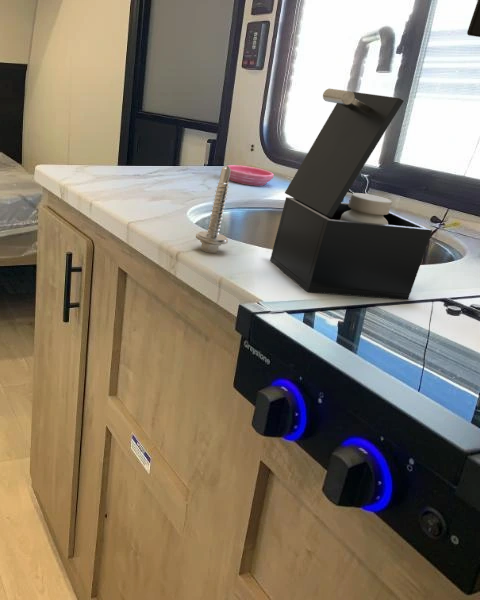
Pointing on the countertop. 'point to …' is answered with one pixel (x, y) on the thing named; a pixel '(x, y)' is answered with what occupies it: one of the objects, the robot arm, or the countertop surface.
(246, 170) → the saucer
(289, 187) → the bin lid
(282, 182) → the countertop surface
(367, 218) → the pill bottle
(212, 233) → the screw
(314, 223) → the bin
